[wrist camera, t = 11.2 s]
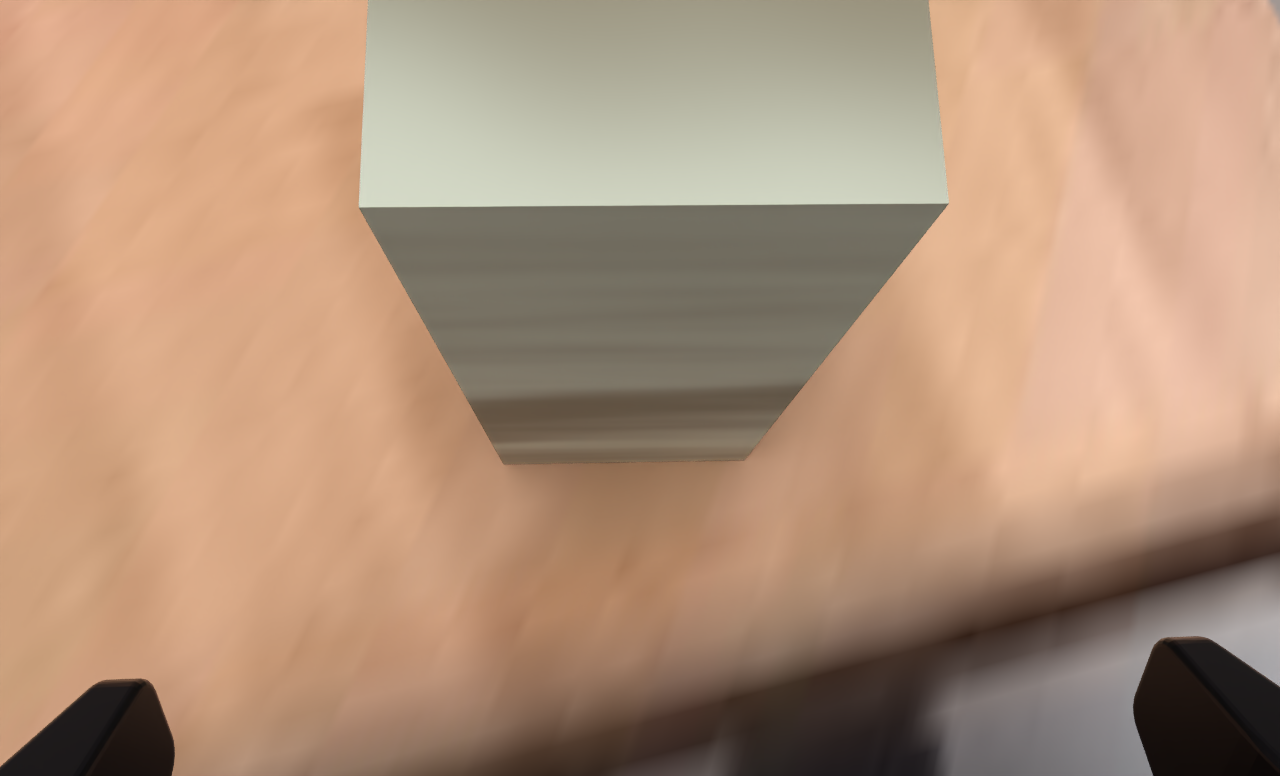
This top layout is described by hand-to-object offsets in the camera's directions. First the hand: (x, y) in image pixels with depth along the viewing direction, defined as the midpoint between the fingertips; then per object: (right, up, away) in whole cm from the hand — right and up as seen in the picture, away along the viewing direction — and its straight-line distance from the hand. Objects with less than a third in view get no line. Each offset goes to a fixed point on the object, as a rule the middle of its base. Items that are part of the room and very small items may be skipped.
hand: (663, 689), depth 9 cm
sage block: (-1, +4, +13) cm, 13 cm away
